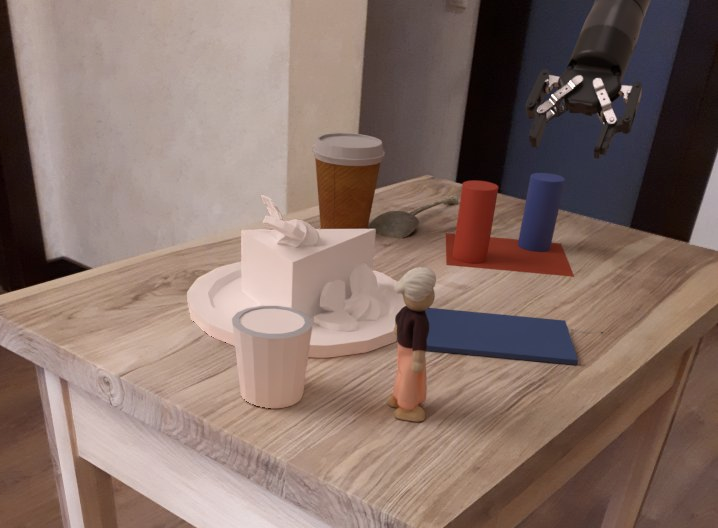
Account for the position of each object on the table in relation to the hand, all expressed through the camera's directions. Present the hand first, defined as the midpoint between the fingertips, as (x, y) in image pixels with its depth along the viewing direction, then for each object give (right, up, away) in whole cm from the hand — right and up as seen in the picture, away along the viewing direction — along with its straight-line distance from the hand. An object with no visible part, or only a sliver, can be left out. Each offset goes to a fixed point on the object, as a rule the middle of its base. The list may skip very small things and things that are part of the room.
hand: (564, 149), depth 106 cm
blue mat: (-13, -29, -21) cm, 39 cm away
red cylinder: (-13, -15, -3) cm, 21 cm away
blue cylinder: (-4, -12, +2) cm, 13 cm away
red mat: (-8, -15, -1) cm, 17 cm away
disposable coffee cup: (-29, -10, +4) cm, 31 cm away
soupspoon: (-18, -6, +10) cm, 22 cm away
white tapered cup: (-36, -37, -34) cm, 62 cm away
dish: (-34, -26, -18) cm, 46 cm away
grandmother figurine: (-24, -38, -35) cm, 57 cm away
